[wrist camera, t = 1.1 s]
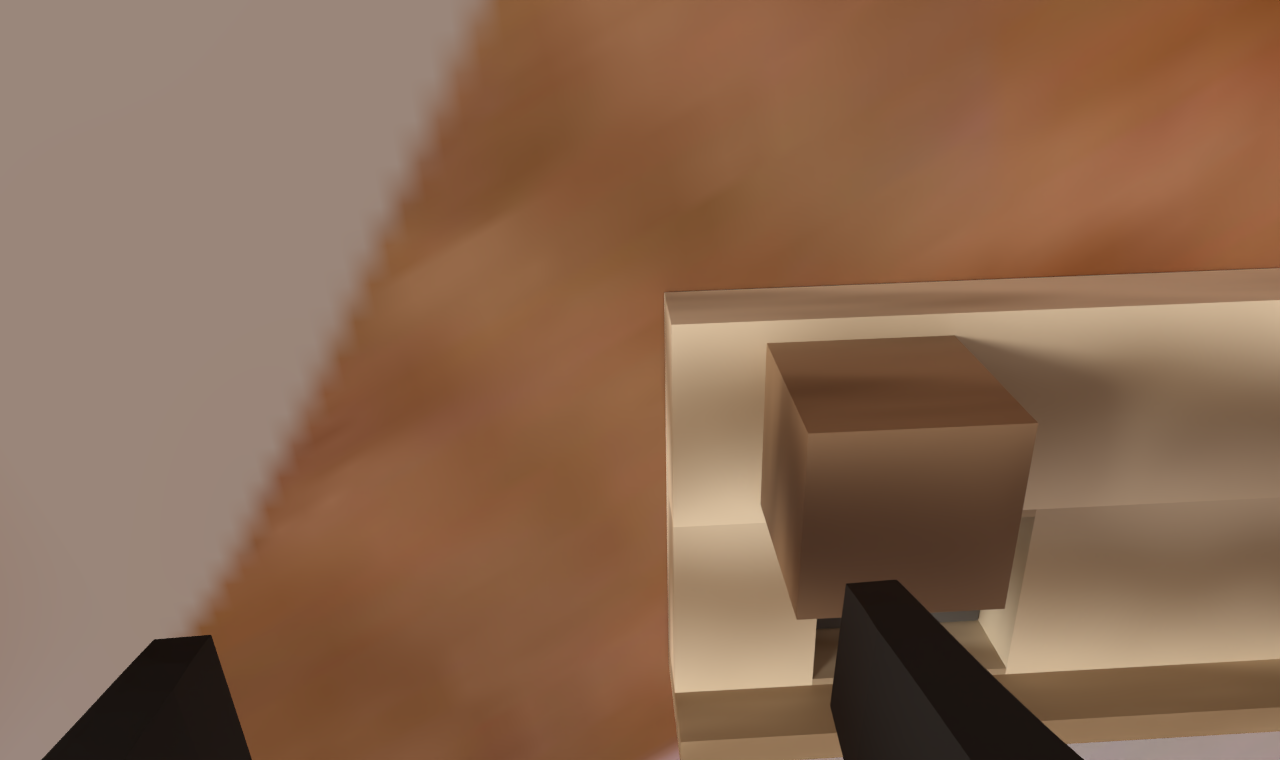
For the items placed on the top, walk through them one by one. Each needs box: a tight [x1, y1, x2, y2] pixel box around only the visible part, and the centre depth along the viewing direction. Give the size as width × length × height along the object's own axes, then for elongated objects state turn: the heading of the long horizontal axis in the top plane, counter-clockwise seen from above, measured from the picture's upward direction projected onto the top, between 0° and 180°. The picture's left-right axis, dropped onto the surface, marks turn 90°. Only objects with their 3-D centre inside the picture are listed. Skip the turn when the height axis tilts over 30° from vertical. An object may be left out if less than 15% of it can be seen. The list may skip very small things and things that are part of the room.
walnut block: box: [761, 335, 1038, 620], centre depth 18 cm, size 4×4×4 cm
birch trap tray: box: [664, 268, 1280, 760], centre depth 22 cm, size 11×23×4 cm, turn 91°
